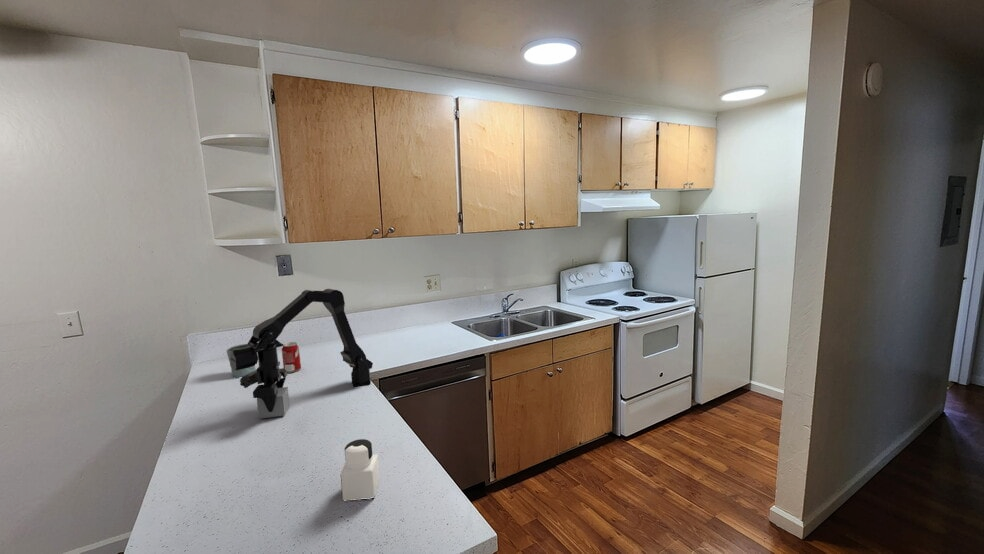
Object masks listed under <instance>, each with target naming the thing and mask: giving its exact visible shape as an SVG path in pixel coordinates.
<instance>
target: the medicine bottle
mask: <svg viewBox="0 0 984 554" xmlns="http://www.w3.org/2000/svg"><path fill="white" fill-rule="evenodd" d="M372 444H373V443H372V442H371V441H370V440H369V439H366V438H360V439H356V440H352V441H350V442H349V443H347V444H346V445H345V447H344V457H345V458H344V459H345V463H344V465H343V468H342V469H341V471H340V483H341V484H340V485H341V494H342V501H343V500H351V499H352V500H353V499H361V498H370V497H374V496H375V497H376V495H375V493H376V494H377V492H376V490H377V491H378V488H377V486H378V487H379V485H378V483H379V484H380V481H379V479H380V480H381V478H380V467H379V454H377V453H375V454H374V453H373V445H372Z"/></svg>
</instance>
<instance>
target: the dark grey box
mask: <svg viewBox="0 0 984 554" xmlns="http://www.w3.org/2000/svg"><path fill="white" fill-rule="evenodd" d="M277 391H278V393H277V397H276V401H275V405H274V408H273V411H272V412H269V411H268V409H267V407H266V405H265V403H264V402H263V400H262V399H260V398H256V404H257V412H258V413H257V414H258V415H257V416H258V419H268V418H275V417H276V418H277V417H283V416H285V415H286V414H287V411H289V408H290V407H291V406H290V396H289V387H288V386H283V388H277Z"/></svg>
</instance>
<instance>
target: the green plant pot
mask: <svg viewBox="0 0 984 554" xmlns="http://www.w3.org/2000/svg"><path fill="white" fill-rule="evenodd" d="M247 344H248V343H242V344H236V345H233V346H231V347H228V348H226V355H227V357H228V362H229V367H230V369H231V370H230V371H231V375H232V377H233V378H234V377H243V376H244V375H246V374H249V373H251V372H253V371H255V370H256V365H255V366H253V367H249V368H245V369H241V370H237V371H234V370H233V369H232V367H231V363H230V358H231V353H232V352H231V350H232V349H236V348H243V347H247Z"/></svg>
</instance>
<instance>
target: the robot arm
mask: <svg viewBox="0 0 984 554" xmlns="http://www.w3.org/2000/svg"><path fill="white" fill-rule="evenodd" d="M313 302H314V303H322V305H323V306H324V308H326V310H327V311H328V312H329V313H330V314H331V317H332V319H333V321H334V324H335V325H334V326H335V327H336V330H337V333H338V335H339V337H340V339H341V343H342V346H343V350H342V351H340V355H341V357H342V361H343V362H345V363H346V364H347V365H349V367H350V368H351V369H352V370H351V372H350V377H351V384H352V386H353V387H360V386H367V385H368V386H370V385H371V383H372V382H371V381H372V378H371V372H370V371H371V369H373V364H374V363H373V362H372V361H371V360H369V359H368V358H367V355H366V354H365V352H364V350H363V349H362V348H361V347H360V345H359V344H358V343H357V341H356V338H355V336H354V333H353V331H352V328H351V325H350V323H349V320H348V317H347V314H346V312H345V307H346V305H345V304H346V303H345V297H344V294H343V292H342V291H341V290H339V289H332V288H326V289H324V290H310V289H304V290H303V291H302V292H301V293H300V294H299V295H298V296H297V297H295V298H294V299H293V300H292V301H291V302H290V303H289V304H287V305H286V306H285V307H284V308H283V309H282V310H281V311H279V312H278V313H277V314H275V315H274V316H273V317H270V318H268V319H265V320H264V321H262V322H260V323H259V324H257V325H256V326H254V328H253V330H252V334H251V335H252V336H251V337H250V339H249V340H248V342H247V343H246V344H247V347H243V348H236V349H232V350H231V352H232V353H231V358H230V362H229V364H230V363H231V366H230V368H231V367H232V369H233V370H234V371H237V370H241V369H245V368H249V367H253V366H255V367H256V365H257V364H258V366H257V368H256V369H255V371H253V372H251V373H249V374H246V375H244V376H243V377H242V378H239V382H240V383H239V385H240V386H242V387H243V388H244V389H247V388H249V387H250V386H252V385H254V384H257V386H256V387H255V388H254V390H253V391H252V398H253V399H257V398H260V399H262V400H263V402H264V403H265V405H266V407H267V409H268V411H269V412H272V411H273V408H274V405H275V401H276V397H277V393H278V391H277V388H283V387H284V385H285V383H286V379H287V376H288V373H287V370H285V369H284V367H282V368H280V366H281V361H279V356H278V350H277V349H278V348H280V347H283V344H284V343H282V342H280V341H279V340H278V338H279V336H280V335H281V334H282V332H283V330H284V329H285V327H286V326H287V325H288V324H289V323H290V322H291V321H292V320H293V319H294V318H296V317H297V316H298V315H299V314H301V312H303V311H304V310H305V309H306V308H307V307H308V306H309V305H310V304H312V303H313Z"/></svg>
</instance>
